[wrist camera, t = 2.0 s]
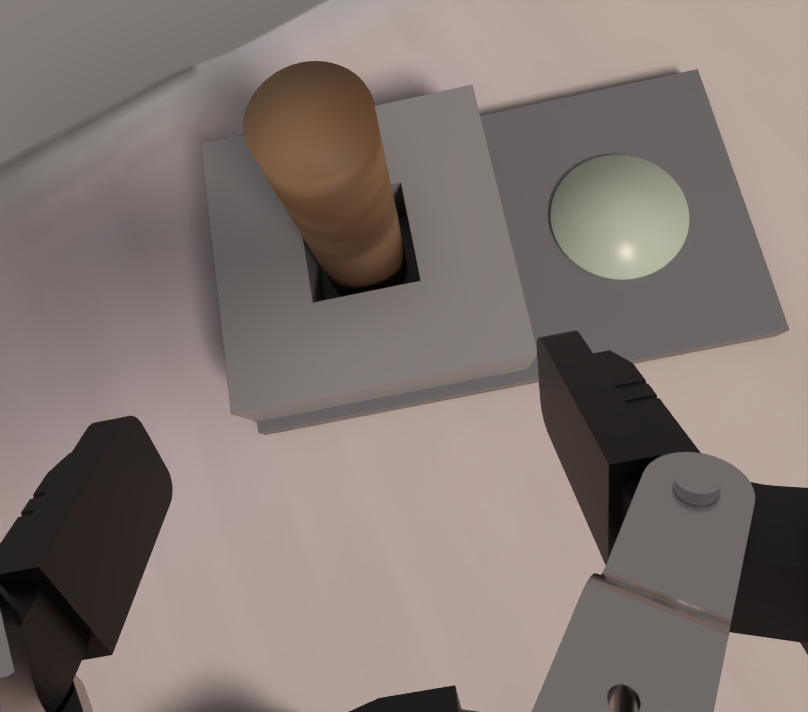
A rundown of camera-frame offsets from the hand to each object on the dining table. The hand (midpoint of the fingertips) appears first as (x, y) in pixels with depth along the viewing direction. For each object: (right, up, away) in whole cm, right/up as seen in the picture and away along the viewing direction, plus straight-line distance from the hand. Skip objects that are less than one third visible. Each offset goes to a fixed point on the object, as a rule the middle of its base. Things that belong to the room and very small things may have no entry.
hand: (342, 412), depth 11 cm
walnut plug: (0, +5, +15) cm, 15 cm away
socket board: (+5, +6, +15) cm, 17 cm away
